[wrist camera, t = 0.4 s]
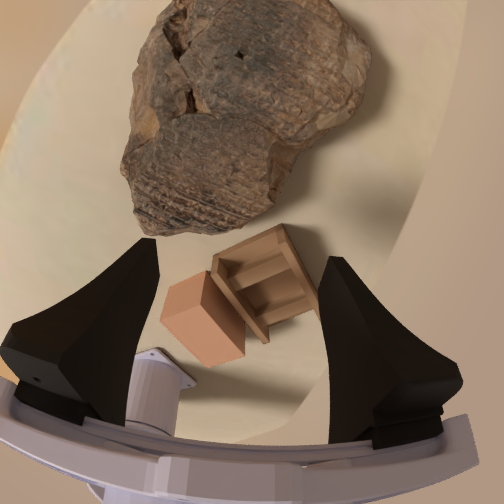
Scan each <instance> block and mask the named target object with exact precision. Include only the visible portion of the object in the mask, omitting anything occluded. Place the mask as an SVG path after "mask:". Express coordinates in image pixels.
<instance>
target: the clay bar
mask: <svg viewBox="0 0 504 504" xmlns="http://www.w3.org/2000/svg"><path fill="white" fill-rule="evenodd" d="M160 322H161V323H162V324H163V325H164V326H165V327H166V328H167V329H168V330H169V331H170V332H171V333H172V334H173V335H174V336H175V337H176V338H177V339H178V340H179V341H180V342H181V343H182V344H183V345H184V346H185V347H186V348H187V349H188V350H189V351H190V352H191V353H192V354H193V355H194V356H195V357H196V358H197V359H198V360H199V361H200V362H201V363H202V364H203V365H204V366H205V367H207V368H209V367H212V366H215V365H219V364H222V363H225V362H229V361H232V360H235V359H238V358H241V357H244V356H245V321H244V320H243V319H242V317H241V316H240V315H239V313H238V312H237V311H236V310H235V308H234V307H233V306H232V304H231V303H230V302H229V300H228V299H227V298H226V296H225V295H224V294H223V293H222V291H221V290H220V289H219V287H218V286H217V285H216V283H215V282H214V281H213V279H212V278H211V277H210V275H209V274H208V273H207V271H203V272H201V273H199V274H197V275H195V276H193V277H190V278H188V279H186V280H184V281H182V282H179V283H177V284H175V285H173V286H171V287H169V290H168V293H167V297H166V300H165V303H164V307H163V310H162V314H161V317H160Z"/></svg>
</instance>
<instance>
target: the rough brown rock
mask: <svg viewBox="0 0 504 504" xmlns="http://www.w3.org/2000/svg"><path fill="white" fill-rule="evenodd" d="M371 61H372V53H371V51H370V48H369V46H368V45H367V43H366V42H365V41H364V40H362V39H361V38H360V37H359V35H358V33H357V32H356V31H355V30H354V29H353V28H352V27H351V26H350V25H349V24H348V23H347V22H346V21H345V20H344V19H343V18H342V17H341V16H340V14H339V12H338V11H337V9H336V8H335V7H334V5H333V4H332V3H331V2H330V1H329V0H172V2H171V3H170V4H169V5H168V6H167V7H166V9H165V10H164V11H163V12H162V13H160V14H159V15H158V16H157V20H156V24H155V26H154V27H153V28H152V29H151V31H150V33H149V36H148V38H147V40H146V42H145V43H144V45H143V47H142V48H141V49H140V53H139V56H138V60H137V62H138V64H139V65H138V67H137V68H136V69H135V71H134V72H133V73H132V81H133V88H134V92H133V96H132V101H131V106H130V115H129V118H130V123H131V127H132V128H131V133H130V135H129V141H128V143H127V145H126V148H125V151H124V155H123V158H122V161H121V164H120V173H121V174H122V175H123V176H124V177H125V178H126V180H127V181H128V184H129V186H130V189H131V194H132V201H133V203H134V210H133V213H134V215H135V216H136V218H137V221H138V224H139V226H140V228H141V229H142V231H143V232H144V234H146V235H149V236H157V235H161V236H166V237H168V236H172V235H176V234H180V233H183V232H192V233H198V234H202V233H203V234H208V235H217V234H222V233H227V232H229V231H231V230H233V229H241V228H242V227H243V226H244V225H245V224H246V223H247V222H248V221H250V220H251V219H253V218H254V217H256V216H258V215H260V214H263V213H265V212H266V211H267V210H269V209H270V208H272V207H273V206H274V205H275V201H274V200H275V198H276V197H277V196H278V195H279V194H280V193H281V190H282V188H283V186H284V182H285V180H286V179H287V177H288V175H289V174H290V173H291V170H292V166H293V164H294V163H295V161H296V158H297V156H298V155H299V153H300V152H302V151H305V150H307V149H309V148H311V147H312V145H313V144H314V143H315V141H316V140H318V139H319V138H321V137H323V136H324V135H325V134H326V133H327V132H328V131H329V130H330V128H334V127H338V126H342V125H344V124H345V123H346V122H347V121H348V120H349V119H350V118H351V117H352V116H353V115H354V114H355V112H356V110H357V109H358V107H359V106H360V104H361V103H362V100H363V96H364V90H365V80H366V79H367V78H366V73H367V71H368V69H369V67H370V64H371Z"/></svg>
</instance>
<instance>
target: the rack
mask: <svg viewBox="0 0 504 504" xmlns="http://www.w3.org/2000/svg"><path fill="white" fill-rule="evenodd" d="M210 276H211V277H212V279H213V280H214V281H215V283H216V284H217V285H218V287H219V288H220V289H221V291H222V292H223V293H224V295H225V296H226V297H227V298H228V300H229V301H230V302H231V304H232V305H233V306H234V308H235V309H236V310H237V311H238V313H239V314H240V315H241V317H242V318H243V319H244V320H245V322H246V323H247V324H248V325H249V327H250V328H251V329H252V330H253V332H254V333H255V334H256V336H257V337H258V338H259V339H260V341H261V342H262V343H263V344H267V343H269V342H270V341H269V330H268V327H269V326H272V325H274V324H277V323H280V322H282V321H285V320H287V319H290V318H292V317H295V316H297V315H300V314H302V313H305V312H307V311H310V310H312V309H314V311H315V313H316V315H317V317H318V318H319V320H320V314H319V305H318V293H317V291H316V289H315V287H314V285H313V283H312V281H311V279H310V277H309V275H308V273H307V271H306V269H305V267H304V265H303V263H302V261H301V259H300V257H299V255H298V253H297V251H296V250H295V248H294V246H293V244H292V242H291V240H290V238H289V236H288V234H287V232H286V231H285V229H284V227H283V225H282V223H281V224H279V225H277V226H275V227H273V228H270V229H268V230H266V231H264V232H262V233H260V234H258V235H256V236H253V237H251V238H249V239H247V240H245V241H243V242H241V243H239V244H236V245H234V246H232V247H230V248H228V249H226V250H224V251H222V252H220V253H217V254H215V255H213V261H212V268H211V274H210ZM320 322H321V320H320Z"/></svg>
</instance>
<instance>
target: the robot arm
mask: <svg viewBox="0 0 504 504" xmlns="http://www.w3.org/2000/svg"><path fill="white" fill-rule="evenodd" d="M159 278H160V272H159V264H158V256H157V247H156V239H151V238H141V239H140V240H139V241H138V242H136V243H135V244H134V245H133V246H132V247H131V248H130V249H129V250H128V251H126V252H125V253H124V254H123V255H122V256H121V257H120V258H119V259H117V260H116V261H115V262H114V263H113V264H112V265H111V266H109V267H108V268H107V269H106V270H105V271H103V272H102V273H101V274H100V275H98V276H97V277H96V278H95V279H94V280H92V281H91V282H90V283H88V284H87V285H85V286H84V287H83V288H81V289H80V290H78V291H77V292H75V293H74V294H72V295H70V296H69V297H67V298H65V299H64V300H62V301H60V302H59V303H57V304H55V305H54V306H52V307H50V308H48V309H46V310H44V311H42V312H40V313H38V314H35V315H33V316H31V317H28V318H26V319H23V320H21V321H18V322H16V323H13V324H12V326H11V328H10V329H9V331H8V333H7V335H6V337H5V339H4V341H3V342H2V344H1V346H0V355H1V357H2V359H3V360H4V362H5V363H6V364H7V366H8V367H9V368H10V369H11V370H12V371H13V372H14V374H15V375H16V376H17V377H18V378H19V379H20V381H19V383H18V385H16V384H15V383H13V382H12V381H10V380H7V379H6V378H3V377H1V376H0V441H1V442H3V443H4V444H6V445H7V446H9V447H11V448H12V449H14V450H16V451H18V452H20V453H22V454H24V455H25V456H27V457H29V458H31V459H33V460H35V461H37V462H39V463H41V464H44V465H46V466H48V467H50V468H52V469H55V470H57V471H59V472H61V473H63V474H66V475H68V476H71V477H73V478H76V479H79V480H81V481H84V482H87V486H88V488H89V490H90V491H91V492H92V493H93V494H94V495H95V496H96V498H97V499H98V500H99V501H100V502H101V503H102V504H362V503H367V502H372V501H377V500H380V499H385V498H389V497H393V496H396V495H400V494H404V493H407V492H410V491H414V490H417V489H420V488H423V487H426V486H429V485H432V484H435V483H438V482H441V481H443V480H446V479H448V478H451V477H453V476H455V475H457V474H459V473H462V472H464V471H466V470H468V469H470V468H472V467H474V466H476V465H478V464H479V458H478V453H477V449H476V445H475V441H474V437H473V433H472V429H471V426H470V422H469V418H468V415H467V414H463V415H459V416H456V417H452V418H449V419H446V420H444V421H441V417H440V415H442V414H443V412H444V411H443V407H442V405H443V404H444V403H446V402H447V401H448V400H449V399H450V398H452V397H453V396H454V395H455V394H456V393H457V392H458V391H459V390H460V389H461V387H462V385H463V379H462V377H461V374H460V371H459V368H458V366H457V363H455V362H454V361H452V360H450V359H449V358H447V357H445V356H443V355H442V354H440V353H438V352H437V351H436V350H434V349H433V348H431V347H430V346H428V345H427V344H426V343H424V342H423V341H421V340H420V339H419V338H418V337H416V336H415V335H414V334H413V333H411V332H410V331H409V330H408V329H407V328H406V327H404V326H403V325H402V324H401V323H400V322H399V321H398V320H397V319H396V318H395V317H394V316H393V315H392V314H391V313H390V312H389V311H388V310H387V309H386V308H385V307H384V306H383V305H382V304H381V303H380V302H379V300H378V299H377V298H376V297H375V296H374V295H373V294H372V292H371V291H370V290H369V289H368V288H367V286H366V285H365V284H364V283H363V281H362V280H361V279H360V278H359V276H358V275H357V274H356V273H355V271H354V270H353V269H352V268H351V266H350V265H349V264H348V263H347V261H346V260H345V259H344V258H343V257H336V256H329V259H328V262H327V265H326V268H325V271H324V274H323V277H322V280H321V282H320V285H319V288H318V305H319V314H320V320H321V325H322V330H323V335H324V340H325V345H326V351H327V356H328V364H329V380H330V425H329V441H328V444H324V445H304V446H303V445H302V446H261V445H241V444H227V443H216V442H206V441H198V440H190V439H183V438H177V437H174V434H175V426H176V419H177V411H178V404H179V397H180V390H183V389H187V388H191V387H195V386H196V382H195V381H194V380H193V379H192V378H191V377H189V376H188V375H187V374H186V373H185V372H184V371H182V370H181V369H180V368H179V367H178V366H177V365H176V364H174V363H173V362H172V361H171V360H170V359H169V358H168V357H167V356H166V355H164V354H163V353H162V352H161V351H160V350H159V349H157V348H153V349H150V350H147V351H144V352H141V353H138V354H136V349H137V345H138V342H139V339H140V336H141V333H142V330H143V328H144V325H145V322H146V319H147V317H148V314H149V311H150V309H151V306H152V303H153V301H154V298H155V294H156V290H157V286H158V282H159ZM302 466H307V467H306V468H302Z"/></svg>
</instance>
